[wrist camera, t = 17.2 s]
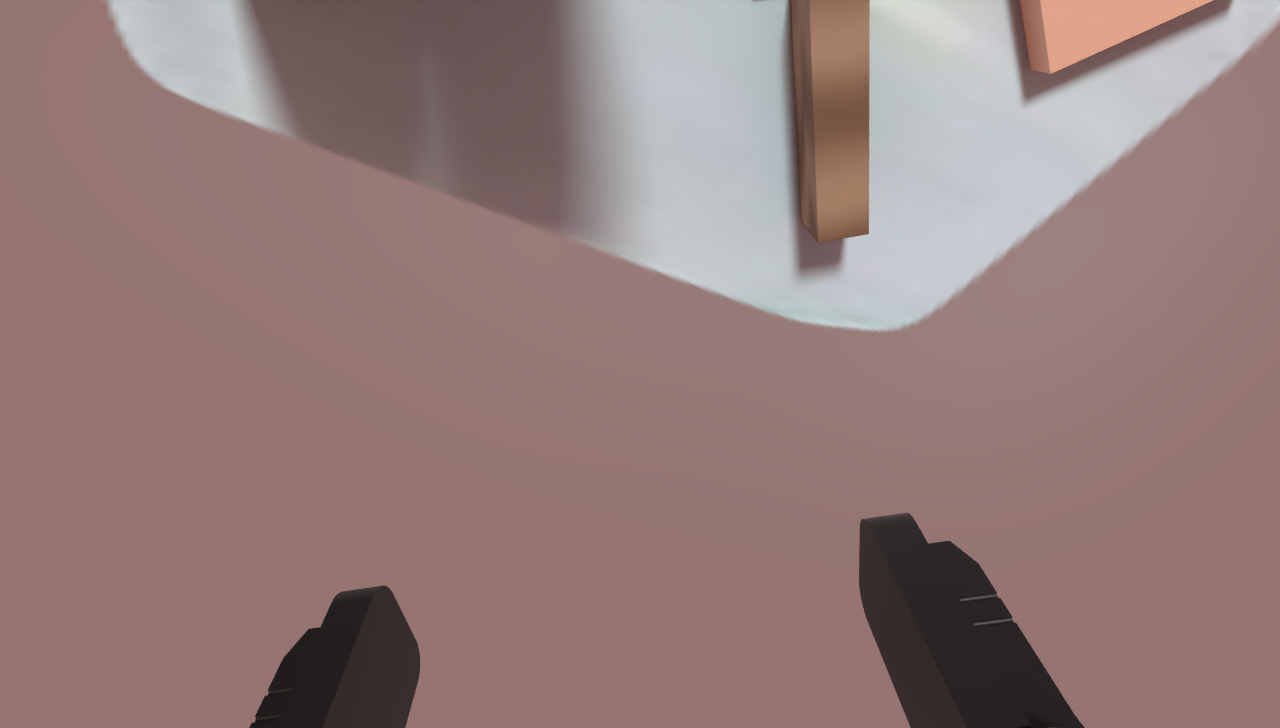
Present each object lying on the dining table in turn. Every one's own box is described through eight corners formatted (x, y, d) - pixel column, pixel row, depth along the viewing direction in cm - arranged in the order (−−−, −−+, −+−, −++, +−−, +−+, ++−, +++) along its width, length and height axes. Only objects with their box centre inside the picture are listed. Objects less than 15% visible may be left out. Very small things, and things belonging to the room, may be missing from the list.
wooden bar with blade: (877, 207, 37) (902, 228, 34) (770, 226, 37) (785, 248, 34) (881, -202, 28) (915, -225, 25) (741, -173, 29) (757, -192, 25)
